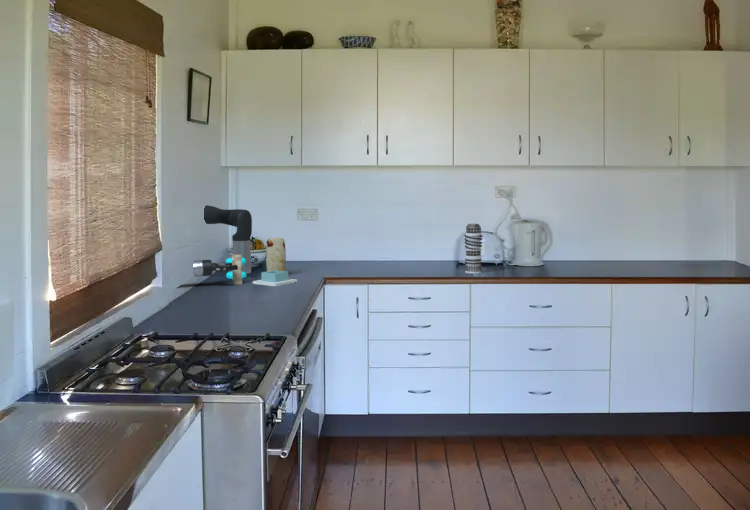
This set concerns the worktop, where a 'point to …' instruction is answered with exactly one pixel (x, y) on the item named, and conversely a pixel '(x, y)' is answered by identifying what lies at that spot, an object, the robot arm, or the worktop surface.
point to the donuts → (229, 274)
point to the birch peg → (237, 273)
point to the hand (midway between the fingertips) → (236, 266)
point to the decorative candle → (473, 248)
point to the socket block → (274, 278)
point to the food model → (275, 254)
